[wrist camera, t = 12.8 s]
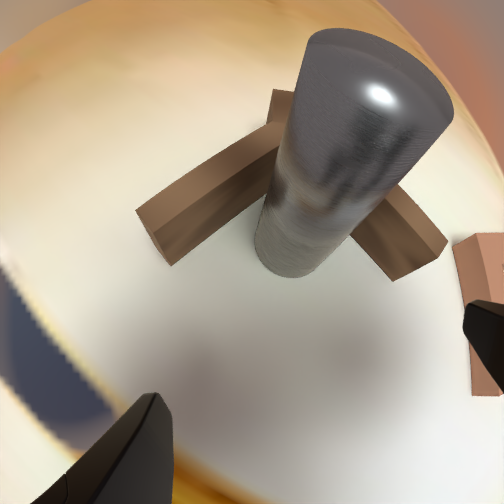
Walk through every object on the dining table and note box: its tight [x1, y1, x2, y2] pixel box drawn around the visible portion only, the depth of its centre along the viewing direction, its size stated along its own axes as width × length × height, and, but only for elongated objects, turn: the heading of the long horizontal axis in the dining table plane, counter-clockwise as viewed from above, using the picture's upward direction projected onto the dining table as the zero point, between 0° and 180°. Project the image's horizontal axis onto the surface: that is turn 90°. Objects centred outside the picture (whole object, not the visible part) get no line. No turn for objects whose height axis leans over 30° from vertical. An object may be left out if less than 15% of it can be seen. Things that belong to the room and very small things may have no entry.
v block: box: [135, 89, 448, 281], centre depth 17 cm, size 10×16×5 cm, turn 87°
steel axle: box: [255, 28, 454, 278], centre depth 12 cm, size 4×4×13 cm
